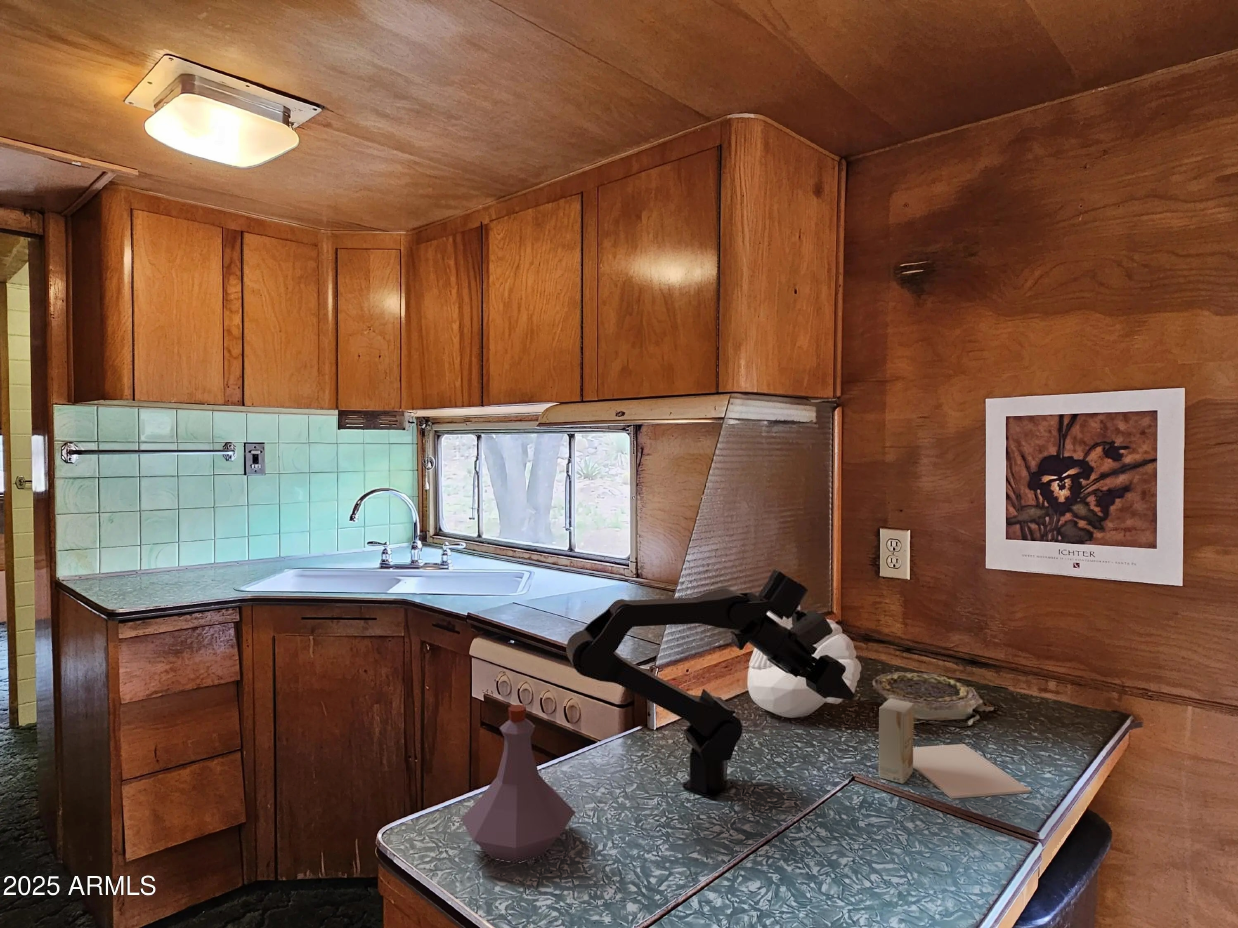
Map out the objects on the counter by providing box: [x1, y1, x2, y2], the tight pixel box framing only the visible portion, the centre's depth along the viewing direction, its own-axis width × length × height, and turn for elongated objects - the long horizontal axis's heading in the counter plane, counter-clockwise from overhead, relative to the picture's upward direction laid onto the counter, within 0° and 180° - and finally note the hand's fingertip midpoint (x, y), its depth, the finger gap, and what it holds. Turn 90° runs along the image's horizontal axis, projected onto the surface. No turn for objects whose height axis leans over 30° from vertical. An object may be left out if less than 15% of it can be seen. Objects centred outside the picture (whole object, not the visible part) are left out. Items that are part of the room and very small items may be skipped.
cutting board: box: [913, 743, 1031, 800], centre depth 126 cm, size 14×18×1 cm
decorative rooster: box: [747, 604, 862, 719], centre depth 150 cm, size 25×16×25 cm, turn 31°
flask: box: [460, 704, 576, 864], centre depth 103 cm, size 16×16×20 cm
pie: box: [871, 671, 995, 728], centre depth 158 cm, size 28×27×5 cm
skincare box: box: [878, 699, 915, 784], centre depth 124 cm, size 6×4×12 cm
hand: (838, 688), depth 125 cm, fingers open, 9 cm apart
